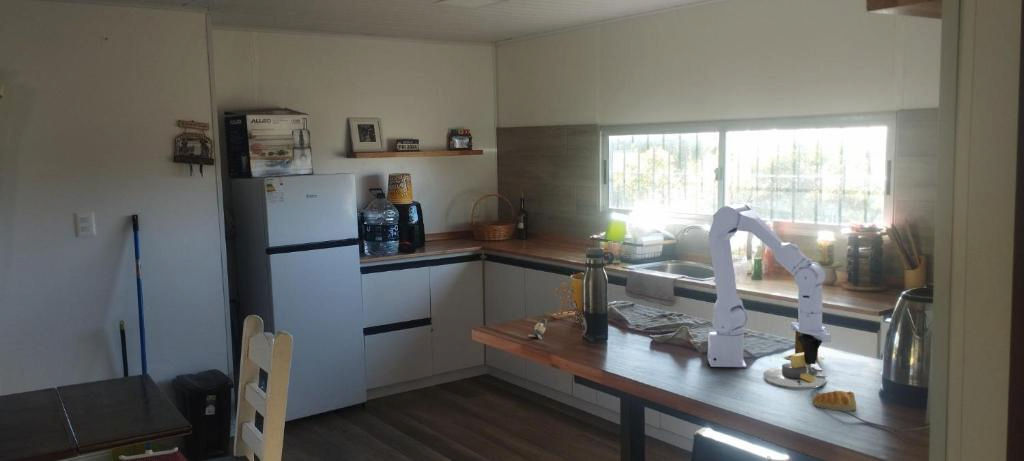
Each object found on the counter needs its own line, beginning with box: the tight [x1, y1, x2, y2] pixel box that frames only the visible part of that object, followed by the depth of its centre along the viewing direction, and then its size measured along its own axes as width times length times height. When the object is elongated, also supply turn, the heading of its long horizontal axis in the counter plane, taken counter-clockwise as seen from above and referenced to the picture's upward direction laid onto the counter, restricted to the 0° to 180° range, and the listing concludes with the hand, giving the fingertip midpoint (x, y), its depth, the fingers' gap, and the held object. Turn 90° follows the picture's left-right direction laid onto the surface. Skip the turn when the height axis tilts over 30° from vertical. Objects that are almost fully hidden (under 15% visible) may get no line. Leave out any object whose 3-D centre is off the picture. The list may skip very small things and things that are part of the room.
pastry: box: [812, 390, 857, 412], centre depth 182 cm, size 9×7×4 cm
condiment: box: [783, 316, 825, 362], centre depth 218 cm, size 7×8×12 cm
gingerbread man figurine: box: [551, 282, 576, 320], centre depth 274 cm, size 9×4×12 cm, turn 117°
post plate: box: [763, 362, 828, 390], centre depth 201 cm, size 16×15×3 cm
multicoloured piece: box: [781, 352, 815, 382], centre depth 200 cm, size 8×9×5 cm
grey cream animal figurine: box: [528, 317, 548, 340], centre depth 249 cm, size 5×5×6 cm
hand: (810, 363), depth 201 cm, fingers closed, pressing on multicoloured piece
